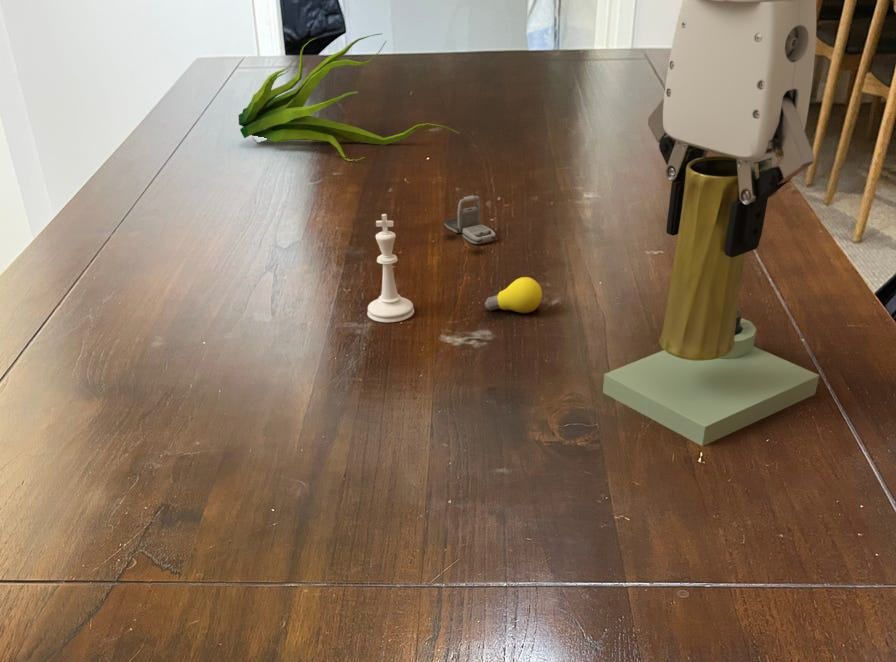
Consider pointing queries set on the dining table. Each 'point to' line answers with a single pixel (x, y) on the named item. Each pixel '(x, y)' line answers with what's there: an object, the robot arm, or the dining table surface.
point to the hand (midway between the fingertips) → (711, 238)
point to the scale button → (738, 322)
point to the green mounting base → (711, 388)
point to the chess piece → (388, 281)
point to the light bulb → (517, 296)
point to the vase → (704, 265)
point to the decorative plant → (305, 110)
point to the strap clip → (470, 223)
